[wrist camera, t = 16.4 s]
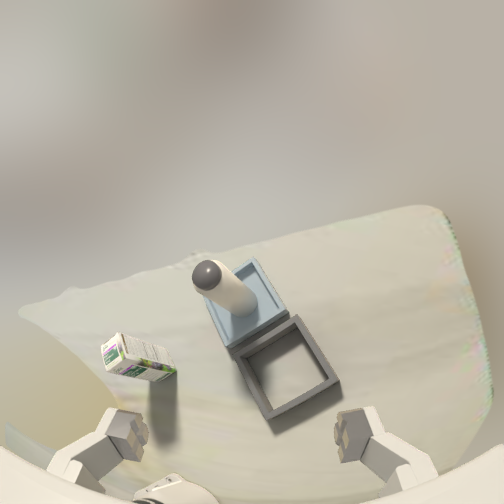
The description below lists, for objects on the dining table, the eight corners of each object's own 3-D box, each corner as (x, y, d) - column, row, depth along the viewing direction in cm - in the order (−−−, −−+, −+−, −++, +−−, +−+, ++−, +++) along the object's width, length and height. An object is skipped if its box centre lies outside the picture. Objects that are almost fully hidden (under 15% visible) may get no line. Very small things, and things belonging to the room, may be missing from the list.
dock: (271, 418, 41) (266, 420, 39) (239, 356, 49) (232, 354, 46) (339, 380, 40) (338, 380, 38) (300, 318, 48) (296, 314, 46)
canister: (237, 322, 51) (195, 299, 40) (225, 299, 54) (184, 270, 43) (262, 306, 51) (227, 277, 39) (249, 283, 54) (213, 249, 43)
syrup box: (158, 383, 52) (106, 373, 40) (149, 359, 55) (98, 345, 44) (177, 370, 52) (126, 359, 40) (167, 347, 55) (117, 330, 44)
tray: (231, 348, 50) (225, 346, 48) (206, 295, 57) (201, 292, 56) (289, 312, 49) (285, 308, 47) (257, 261, 57) (253, 256, 55)
